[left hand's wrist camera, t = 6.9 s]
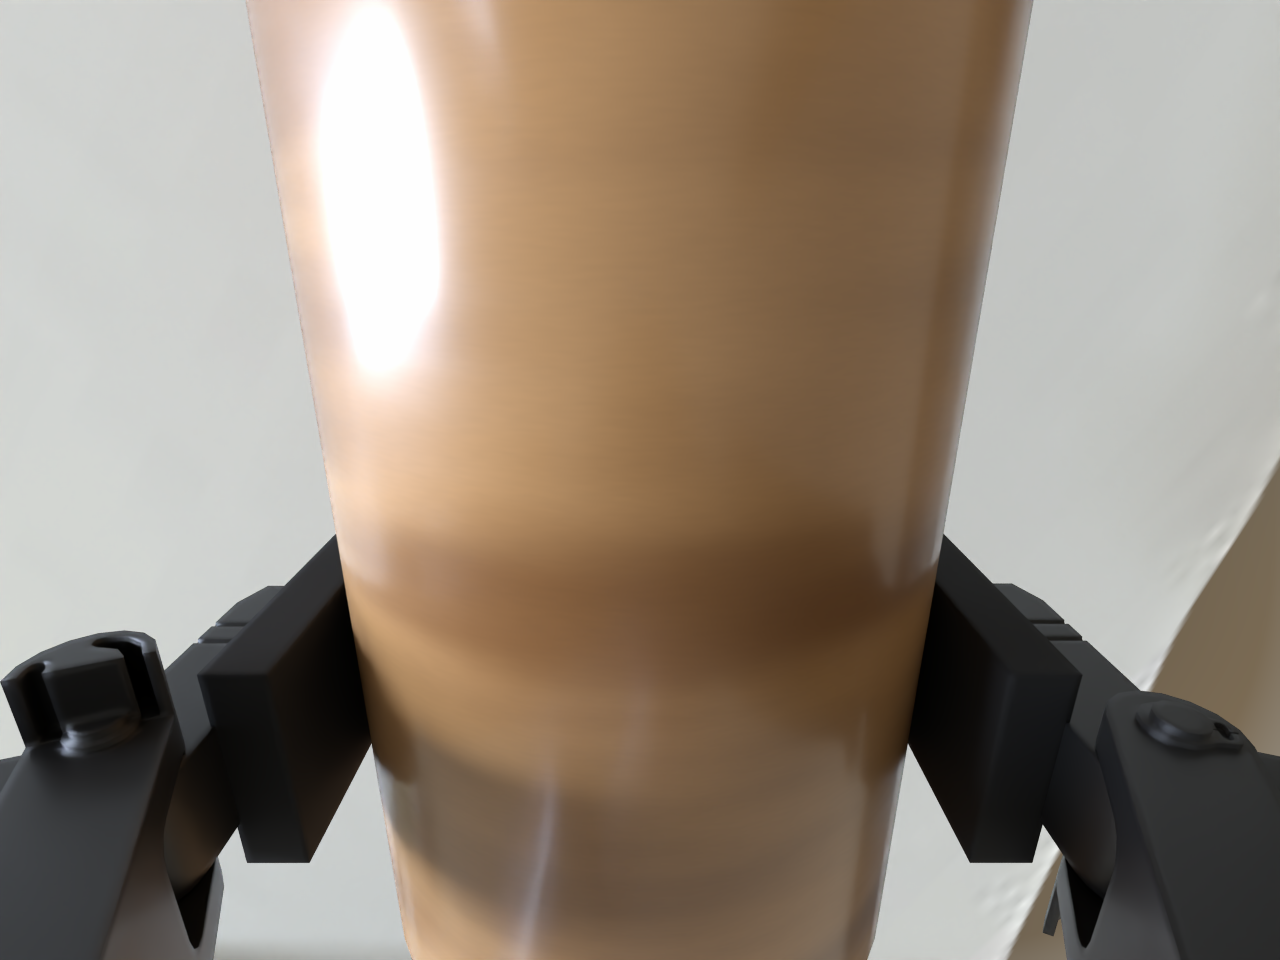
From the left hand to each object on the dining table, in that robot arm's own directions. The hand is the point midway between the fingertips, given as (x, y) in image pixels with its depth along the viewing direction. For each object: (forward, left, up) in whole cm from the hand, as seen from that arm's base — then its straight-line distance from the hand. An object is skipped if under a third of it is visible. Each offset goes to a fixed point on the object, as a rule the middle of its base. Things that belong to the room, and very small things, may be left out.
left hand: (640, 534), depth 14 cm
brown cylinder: (+9, +5, -1) cm, 10 cm away
